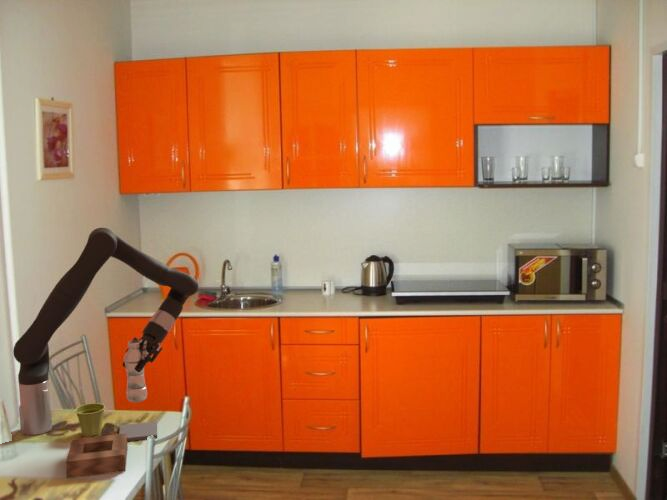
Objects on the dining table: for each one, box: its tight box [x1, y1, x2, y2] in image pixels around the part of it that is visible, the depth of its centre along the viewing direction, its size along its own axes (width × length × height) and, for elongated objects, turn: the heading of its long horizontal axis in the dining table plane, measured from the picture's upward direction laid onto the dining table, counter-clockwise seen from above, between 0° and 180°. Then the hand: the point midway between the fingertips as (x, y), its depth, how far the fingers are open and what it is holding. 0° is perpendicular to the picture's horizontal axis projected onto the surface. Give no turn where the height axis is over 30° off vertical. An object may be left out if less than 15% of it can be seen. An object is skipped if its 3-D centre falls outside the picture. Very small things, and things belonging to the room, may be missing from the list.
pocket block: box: [65, 433, 129, 479], centre depth 201 cm, size 16×16×5 cm
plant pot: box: [74, 402, 106, 437], centre depth 223 cm, size 9×9×9 cm
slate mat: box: [118, 420, 158, 442], centre depth 224 cm, size 12×12×1 cm
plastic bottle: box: [123, 340, 148, 403], centre depth 221 cm, size 6×7×20 cm
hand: (130, 368), depth 220 cm, fingers closed on plastic bottle, 6 cm apart
